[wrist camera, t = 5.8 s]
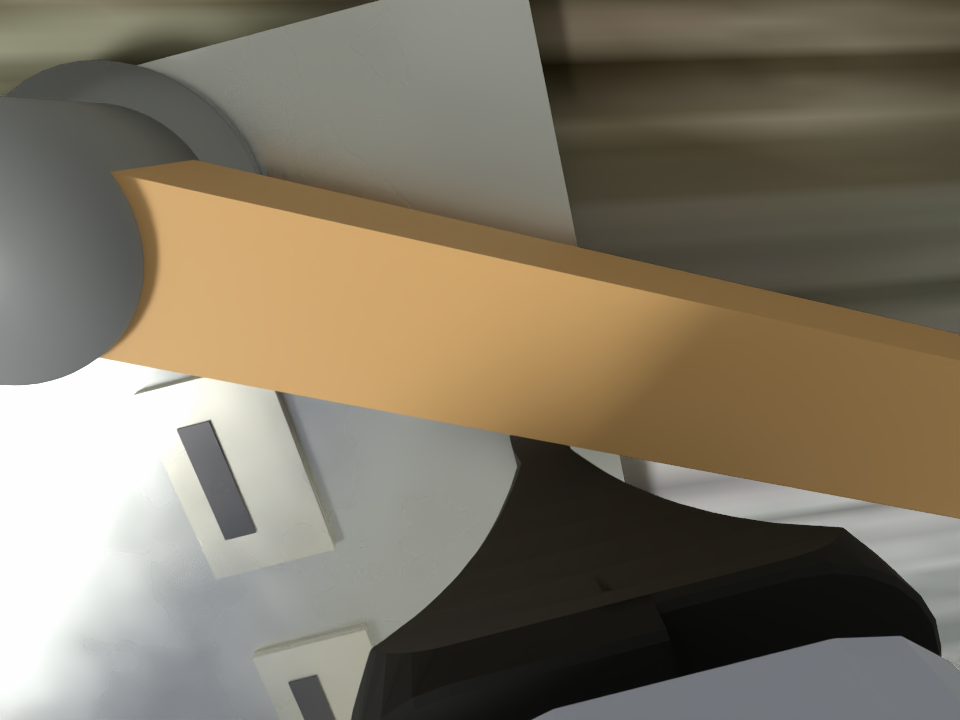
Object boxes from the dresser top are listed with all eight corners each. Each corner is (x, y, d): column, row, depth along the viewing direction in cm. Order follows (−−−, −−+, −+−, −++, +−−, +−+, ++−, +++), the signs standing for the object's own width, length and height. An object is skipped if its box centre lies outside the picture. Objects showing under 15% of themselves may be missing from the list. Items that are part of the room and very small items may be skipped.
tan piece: (958, 303, 12) (1138, 363, 9) (884, 464, 13) (1022, 568, 10) (5, 78, 10) (-186, 58, 7) (1, 292, 11) (-166, 356, 8)
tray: (678, 772, 17) (693, 811, 16) (135, 903, 17) (118, 949, 16) (513, -43, 11) (521, -59, 10) (-319, 179, 11) (-388, 185, 10)
